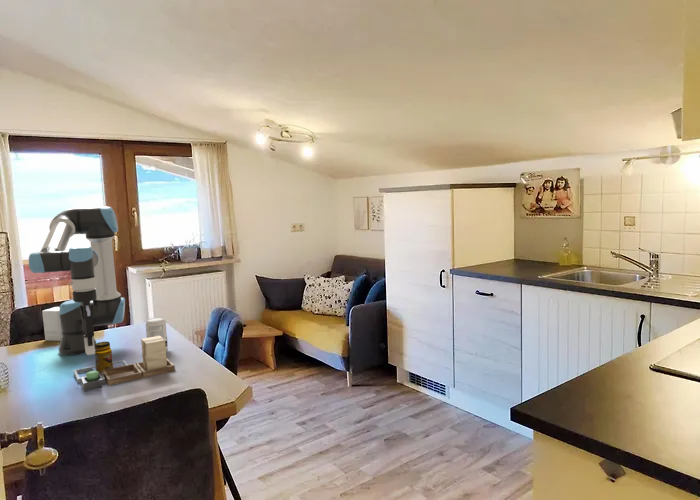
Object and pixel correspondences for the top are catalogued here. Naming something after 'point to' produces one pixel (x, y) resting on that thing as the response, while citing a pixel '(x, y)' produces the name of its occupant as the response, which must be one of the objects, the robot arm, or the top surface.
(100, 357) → the condiment
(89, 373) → the button
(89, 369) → the frame
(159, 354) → the block
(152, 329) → the supplement can
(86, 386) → the button housing
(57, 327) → the supplement box
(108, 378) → the brown divided tray
